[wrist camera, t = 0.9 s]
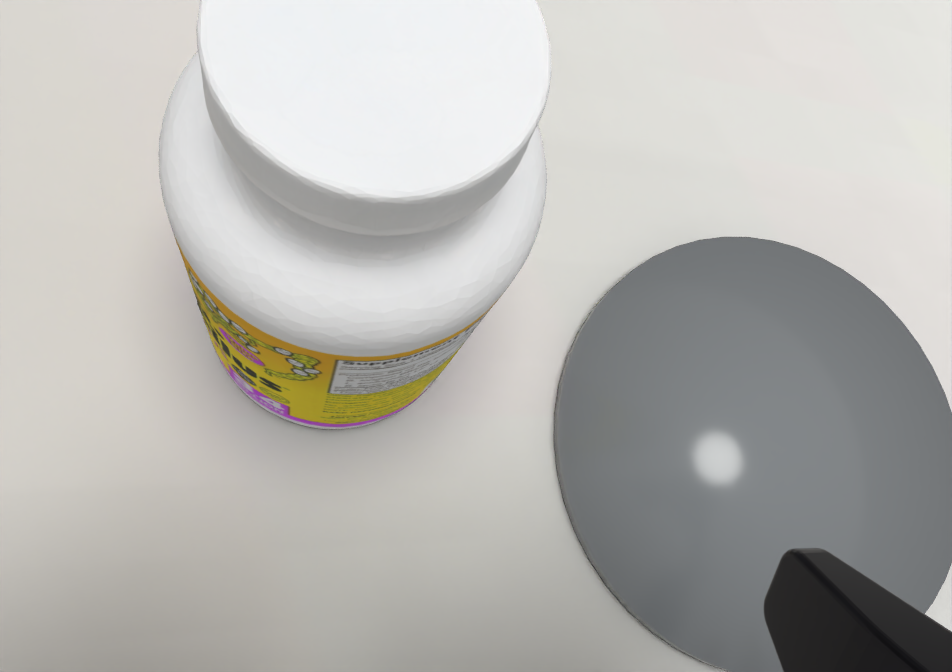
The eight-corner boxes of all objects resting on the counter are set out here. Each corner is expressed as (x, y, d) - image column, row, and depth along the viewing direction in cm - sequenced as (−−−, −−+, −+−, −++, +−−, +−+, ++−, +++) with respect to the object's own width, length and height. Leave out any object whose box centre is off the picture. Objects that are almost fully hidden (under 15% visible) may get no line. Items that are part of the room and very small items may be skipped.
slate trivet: (1020, 562, 25) (1036, 562, 25) (676, 765, 21) (686, 771, 21) (826, 196, 27) (837, 188, 27) (483, 319, 24) (487, 313, 23)
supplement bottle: (181, 238, 22) (50, -152, 10) (407, 185, 24) (522, -197, 12) (250, 470, 21) (193, 336, 9) (483, 394, 23) (695, 200, 11)
